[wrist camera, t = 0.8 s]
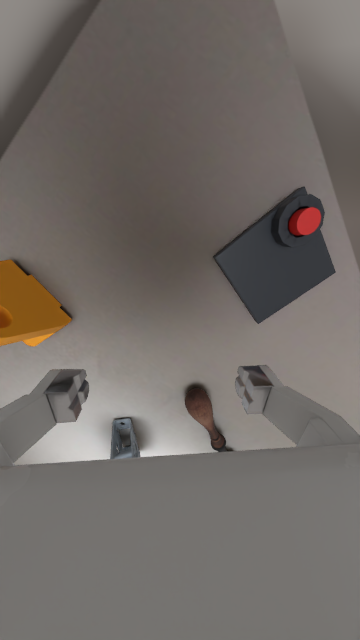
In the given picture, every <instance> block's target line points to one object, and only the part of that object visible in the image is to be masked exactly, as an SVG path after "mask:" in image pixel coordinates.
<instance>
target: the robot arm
mask: <svg viewBox="0 0 360 640" xmlns="http://www.w3.org/2000/svg"><path fill="white" fill-rule="evenodd" d="M237 372H238V374H239V376H238V377H237V378H236V381H235V389H236V392H237V394H238V396H239V397H240V398H242V402H241V403H242V405H243V407H244V409H245V411H246V414H263V415H264V416H265V417H266V418H267V419H268V420H269V421H271V422H272V423H273V424H274V425H275V426H276V427H277V428H278V429H279V430H281V431H282V432H283V433H284V434H285V435H286V436H287V437H288V438H289V439H291V440H292V441H293V442H294V443H295V444H296V447H291V448H276V449H260V450H245V451H230V452H215V453H200V454H185V455H169V456H154V457H138V458H122V459H107V460H91V461H76V462H60V463H45V464H30V465H15V464H14V462H15V461H16V460H17V459H18V458H19V457H21V456H22V455H23V454H24V453H25V452H26V451H27V450H28V449H29V448H31V447H32V446H33V445H34V444H35V443H36V442H37V441H38V440H39V439H41V438H42V437H43V436H44V435H45V434H46V433H47V432H48V431H49V430H50V429H52V428H53V427H54V426H55V425H56V423H64V422H76V420H77V418H78V416H79V414H80V412H81V410H82V408H81V405H82V404H83V403H84V402H85V401H86V399H87V397H88V393H89V384H88V382H87V381H86V380H85V378H86V376H87V375H86V371H85V370H84V369H63V370H62V369H53V370H50V371H49V372H48V373H47V374H46V376H45V377H44V378H43V379H42V380H41V381H40V383H39V384H38V385H37V386H36V387H35V388H34V390H33V391H32V392H31V393H30V394H29V395H24V396H22V397H21V398H19V399H17V400H15V401H14V402H12V403H10V404H8V405H6V406H5V407H3V408H1V409H0V640H360V435H359V434H358V433H357V432H356V431H355V430H354V429H353V428H352V427H351V426H350V425H349V424H348V423H347V422H346V421H345V420H344V419H343V418H342V417H341V416H339V415H337V414H336V413H334V412H332V411H330V410H329V409H327V408H325V407H323V406H321V405H320V404H318V403H316V402H314V401H313V400H311V399H309V398H307V397H305V396H304V395H302V394H300V393H298V392H297V391H295V390H293V389H291V388H290V387H288V386H284V385H283V384H282V383H281V381H280V380H279V379H278V378H277V376H276V375H275V374H274V373H273V371H272V370H271V369H270V368H269V367H268V366H267V365H257V366H239V368H238V371H237Z"/></svg>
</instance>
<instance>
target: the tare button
mask: <svg viewBox="0 0 360 640" xmlns="http://www.w3.org/2000/svg"><path fill="white" fill-rule="evenodd" d="M320 221H321V214H320V211H319V210H318V209H317V208H314V207H310V208H305V209H300V210H298V211H296V212H295V213H294V214H293V215H292V216H291V218H290V220H289V224H288V228H289V231H290V232H291V233H292V234H293V235H309V234H311V233H312V232H314V231H315V230H316V229H317V227H318V226H319V224H320Z"/></svg>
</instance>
